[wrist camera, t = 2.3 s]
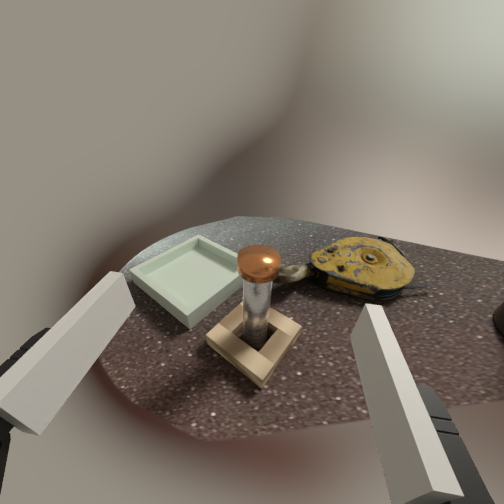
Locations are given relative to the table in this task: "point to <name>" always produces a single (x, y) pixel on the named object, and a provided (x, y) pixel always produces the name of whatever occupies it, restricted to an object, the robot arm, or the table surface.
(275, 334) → the bracket
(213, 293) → the pale green tray
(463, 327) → the table surface
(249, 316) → the steel pin
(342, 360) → the table surface
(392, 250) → the pulley block
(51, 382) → the robot arm
